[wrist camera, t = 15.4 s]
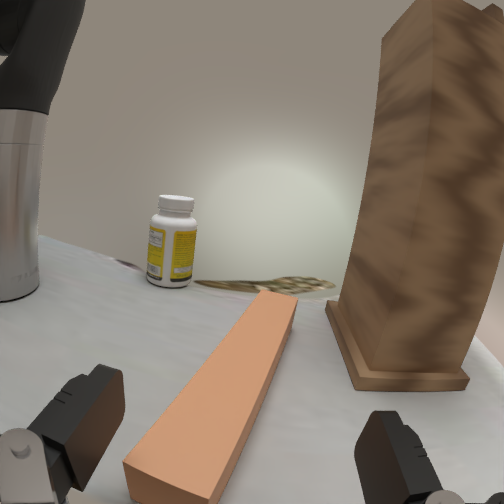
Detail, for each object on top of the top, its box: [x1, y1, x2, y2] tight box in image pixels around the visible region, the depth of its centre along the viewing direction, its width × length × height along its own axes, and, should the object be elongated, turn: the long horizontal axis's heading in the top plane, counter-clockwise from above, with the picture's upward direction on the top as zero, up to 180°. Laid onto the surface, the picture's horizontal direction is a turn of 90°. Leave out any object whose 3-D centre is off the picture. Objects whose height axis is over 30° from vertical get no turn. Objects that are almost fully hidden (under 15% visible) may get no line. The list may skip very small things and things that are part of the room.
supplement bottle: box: [147, 195, 197, 287], centre depth 36 cm, size 5×5×10 cm
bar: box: [122, 290, 298, 504], centre depth 20 cm, size 4×22×4 cm, turn 165°
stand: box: [325, 0, 504, 391], centre depth 24 cm, size 11×15×34 cm
